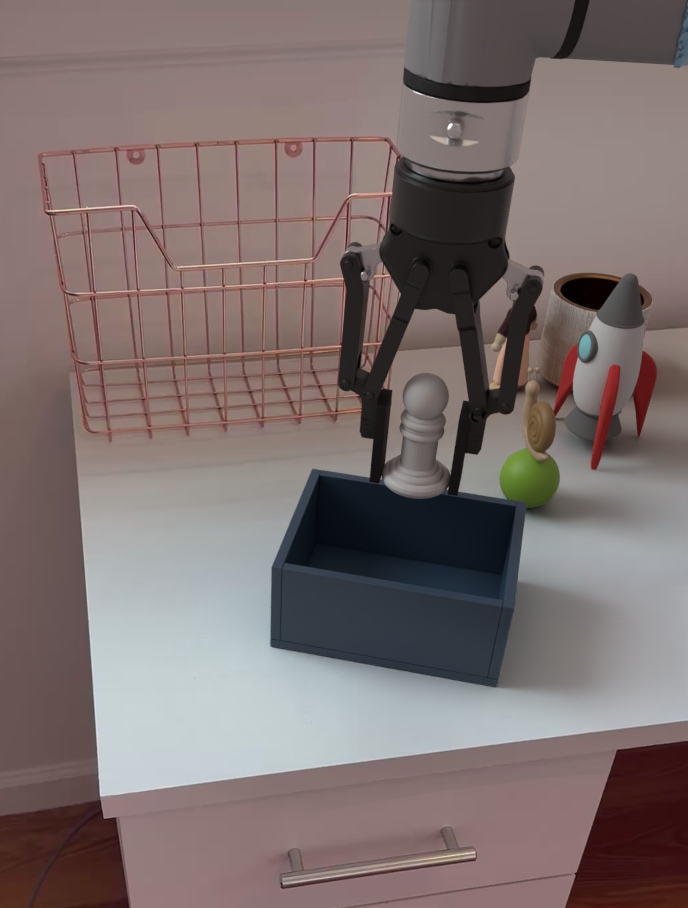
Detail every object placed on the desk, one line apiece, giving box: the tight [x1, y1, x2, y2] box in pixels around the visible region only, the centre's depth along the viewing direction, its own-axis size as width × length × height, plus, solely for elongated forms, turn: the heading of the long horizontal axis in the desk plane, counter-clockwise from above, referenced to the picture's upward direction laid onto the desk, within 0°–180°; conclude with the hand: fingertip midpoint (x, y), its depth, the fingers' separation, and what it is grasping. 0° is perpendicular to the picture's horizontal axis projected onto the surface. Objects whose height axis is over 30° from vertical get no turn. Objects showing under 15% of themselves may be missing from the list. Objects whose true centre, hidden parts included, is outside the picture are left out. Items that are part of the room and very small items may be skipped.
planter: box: [535, 272, 654, 394], centre depth 112 cm, size 11×11×10 cm
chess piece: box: [381, 372, 451, 499], centre depth 76 cm, size 5×5×9 cm
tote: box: [269, 468, 527, 688], centre depth 81 cm, size 18×14×8 cm
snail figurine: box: [499, 366, 561, 509], centre depth 92 cm, size 5×6×12 cm
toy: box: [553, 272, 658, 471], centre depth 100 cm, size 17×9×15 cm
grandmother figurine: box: [489, 305, 538, 390], centre depth 109 cm, size 8×4×13 cm, turn 150°
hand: (415, 478), depth 79 cm, fingers closed on chess piece, 5 cm apart
